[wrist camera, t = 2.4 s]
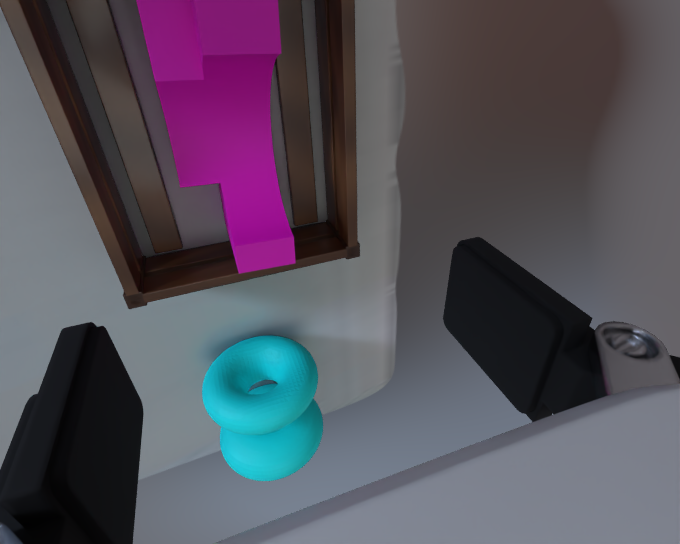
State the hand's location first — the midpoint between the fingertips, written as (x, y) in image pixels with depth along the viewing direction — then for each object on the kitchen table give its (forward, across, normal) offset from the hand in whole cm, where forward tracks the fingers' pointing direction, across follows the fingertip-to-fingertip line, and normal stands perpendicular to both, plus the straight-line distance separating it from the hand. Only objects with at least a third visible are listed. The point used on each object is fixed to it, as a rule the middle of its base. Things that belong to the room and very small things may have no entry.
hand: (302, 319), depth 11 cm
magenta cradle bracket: (+22, 0, -1) cm, 22 cm away
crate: (+21, 0, -1) cm, 21 cm away
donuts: (+22, +1, +23) cm, 32 cm away
